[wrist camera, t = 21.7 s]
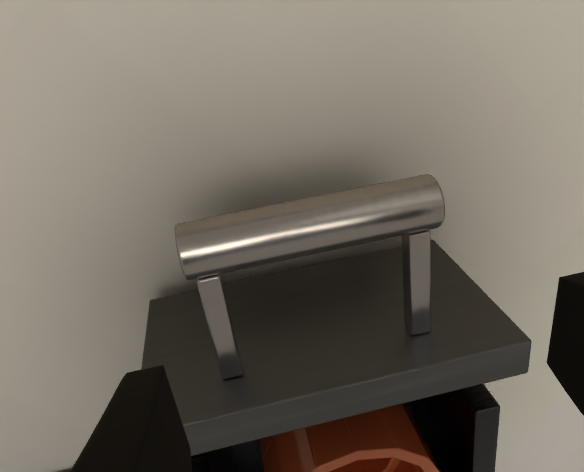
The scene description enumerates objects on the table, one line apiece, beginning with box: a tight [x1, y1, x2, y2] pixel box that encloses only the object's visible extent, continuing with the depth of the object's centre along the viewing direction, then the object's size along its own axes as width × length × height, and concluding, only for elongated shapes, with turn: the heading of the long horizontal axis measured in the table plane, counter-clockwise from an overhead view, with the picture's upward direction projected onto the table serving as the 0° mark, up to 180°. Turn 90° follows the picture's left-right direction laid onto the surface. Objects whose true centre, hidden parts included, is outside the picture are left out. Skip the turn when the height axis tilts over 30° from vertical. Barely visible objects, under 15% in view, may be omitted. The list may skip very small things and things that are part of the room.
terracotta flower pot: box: [259, 403, 441, 472], centre depth 18 cm, size 6×6×5 cm
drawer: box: [141, 174, 531, 472], centre depth 18 cm, size 18×11×6 cm, turn 8°
